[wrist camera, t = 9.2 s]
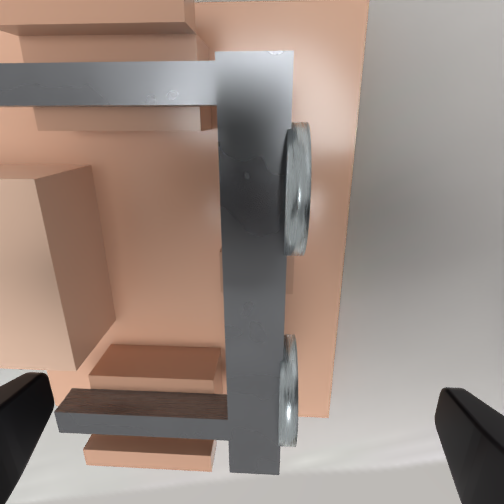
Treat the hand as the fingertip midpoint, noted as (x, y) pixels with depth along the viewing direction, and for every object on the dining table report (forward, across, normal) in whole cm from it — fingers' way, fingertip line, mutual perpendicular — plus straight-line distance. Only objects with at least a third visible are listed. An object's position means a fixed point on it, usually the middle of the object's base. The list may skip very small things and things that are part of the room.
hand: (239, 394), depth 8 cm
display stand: (+11, +4, 0) cm, 11 cm away
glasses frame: (+7, +4, 0) cm, 8 cm away
